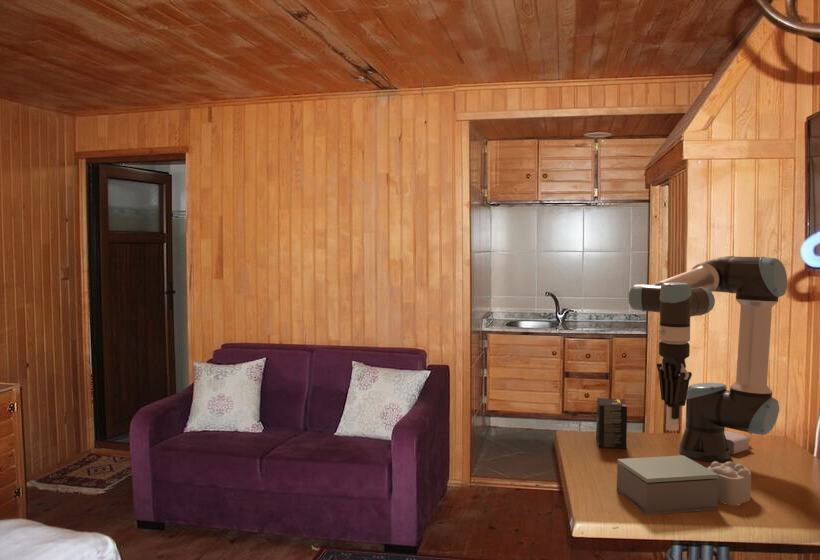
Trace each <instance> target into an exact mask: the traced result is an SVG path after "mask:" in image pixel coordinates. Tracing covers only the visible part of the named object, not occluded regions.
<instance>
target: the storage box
mask: <svg viewBox="0 0 820 560" xmlns="http://www.w3.org/2000/svg"><path fill="white" fill-rule="evenodd" d="M616 466H617V469H616V492H617V491H618V493H619V494H620V495H621V496H622V497H623V496H624V497H623V498H625V499H626V500H627V501H628V502H629V503H631V504H632V505H633V506H635V507H636V508H637V509H638V510H639V511H641V512H642V513H643V514H644V515H646V516H648V515H661V514H673V513H674V514H675V513H687V512H688V513H691V512H705V511H704V510H706V511H717V510H718V502H719V501H718V479H716V478H715V479H699V480H683V481H667V482H651V483H647V482H645V481H644V480H642V479H641V478H639V477H638V476H636V475H635V474H633V473H632V472H630V471H629V470H628V469H626V468H625V467H623V466H622V465H620V464H619V463H617V464H616Z"/></svg>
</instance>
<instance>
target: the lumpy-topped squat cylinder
mask: <svg viewBox="0 0 820 560" xmlns="http://www.w3.org/2000/svg"><path fill="white" fill-rule="evenodd" d="M707 468H708V469H709V470H711V471H713V472H715V473H717V474H719V476H718V478H716V479H718V502H719V501H720V502H719V503H721V502H723V503H722V504H724V503H726V504H725V505H727V504H730V505H729V506H734V505H737V506H739V505H738V504H742V503H744V504H746V503H748V502H749V501H750V500H751V494H752V493H751V492H752V491H751V490H752V489H751V487H752V472H751V470H750V469H749V468H747V467H746V466H744V465H743V464H742V463H735V462H733V461H725V462H724V463H721V462H720V461H711V463H710V465H709V466H708V467H707ZM749 499H750V500H749ZM748 500H749V501H748ZM747 501H748V502H747ZM745 502H746V503H745ZM742 505H743V504H742Z"/></svg>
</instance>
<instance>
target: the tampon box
mask: <svg viewBox="0 0 820 560" xmlns="http://www.w3.org/2000/svg"><path fill="white" fill-rule="evenodd" d="M627 423H628V407H627V404H626V402H625V399H623V398H619V399H618V398H603V397H597V401H596V430H595V433H596V435H595V438H596V439H595V440H596V443H597V446H598V447H599V448H604V449H605V448H606V449H618V448H619V449H621V450H627V441H628V440H627V437H628V435H627V431H628V429H627V428H628V424H627Z"/></svg>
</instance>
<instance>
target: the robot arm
mask: <svg viewBox="0 0 820 560" xmlns="http://www.w3.org/2000/svg"><path fill="white" fill-rule="evenodd" d="M787 275H788V274H787V270H786V268H785V266H784V264H783V262H782V261H781V260H779V259H778V258H776V257H767V256H735V255H727V256H721V257H717V258H713V259H709V260H707V261H703V262H701V263H698V264H696V265H694V266H693V267H692V268H691V270H688V271H684V272H681V273H680V274H676V275H674V276H671V277H669V278H666V279H665V278H664V279H663V280H660V281H657V282H654V283H652V284H644V283H642V284H634V285H633V286H632V287H631V288H629V289H630V290H629V292H628V304H629V306H630V308H632V309H633V310H636V311H641V312H649V313H651V312H653V313H659V330H658V333H659V335H658V336H659V338H658V339H659V340H660V341H659V342H658V355H659V356H660V357H662V358H661V359H662V360H661V362H660V363H656V368H657V371H658V380H659V390H660V399H661V401H664V405H666V406H665V409H666V410H665V414H666V416H665V417H666V418H665V421H666V422H665V430H666V431H669V432H672V431H673V432H674V431H679V427H680V424H679V423H680V420H679V419H680V407H685V428H684V432H683V434H682V437H681V439H680V442H679V447H678V452H679V454H680V455H681V456H682V455H684V456H686V457H687V458H689V459H692V460H698V461H703V462H714V461H716V462H723V461H727V460H729V459H730V455H731V454H730V450H729V446H728V443H727V440H726V437H725V433H724V431H726V430H725V428H726V429H730V430H731V429H732V430H736V431H739V432H744V433H748V434H749V435H751V434H752V435H754V434H755V435H760V436H764V435H767V434H769V433H770V432H771V431H773V429H774V427H775V425H776V423H777V421H778V418H779V412H780V405H779V400H778V399H776V398H775V397H773V390H772V389H771V388H770V387H769V386H768V376H769V374H768V373H769V362H770V361H769V360H770V359H769V358H770V342H771V327H772V316H773V315H772V312H773V307H774V306H775V305H777V304H778V303H779V298H781V297H783V296H785V294H786V293H787V292H786V291H787V289H788V276H787ZM713 292H714V293H727V294H728V293H730V294H735V301H736V302H737V303H738V304H739V305H740V311H739V312H740V313H739V329H738V340H737V341H738V342H737V343H738V344H737V360H736V373H735V374H736V377H735V382H734V383H733V384H732V385H730V386H729V390H727V389H728V388H727V385H726V384H725V383H719V382H701V383H700V382H699V383H695V384H694V383H693V384H691V385H690V384H689V383H690V380H691V379H692V376H693V375H692V374H693V373H692V372H691V371H688V370H687V368H686V367H687V365H686V359H687V358H689V357H690V352H691V351H690V350H691V349H690V346H691V345H690V343H689V342H690V341H691V317H698V316H700V317H701V316H704V315H707V314H708V313H710V312H711V311H713V308H714V307H715V303H716V299H715V296H714V294H713Z"/></svg>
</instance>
